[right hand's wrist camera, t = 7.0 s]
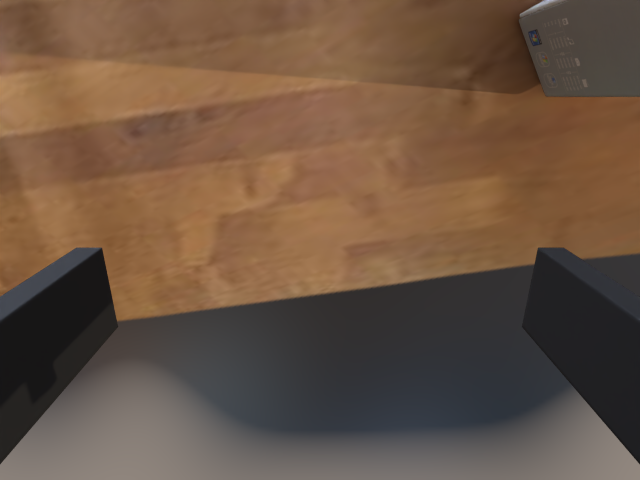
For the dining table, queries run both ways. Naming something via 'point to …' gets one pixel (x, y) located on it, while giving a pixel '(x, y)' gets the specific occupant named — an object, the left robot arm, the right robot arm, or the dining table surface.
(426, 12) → the dining table surface
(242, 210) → the dining table surface
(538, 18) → the hard drive box
